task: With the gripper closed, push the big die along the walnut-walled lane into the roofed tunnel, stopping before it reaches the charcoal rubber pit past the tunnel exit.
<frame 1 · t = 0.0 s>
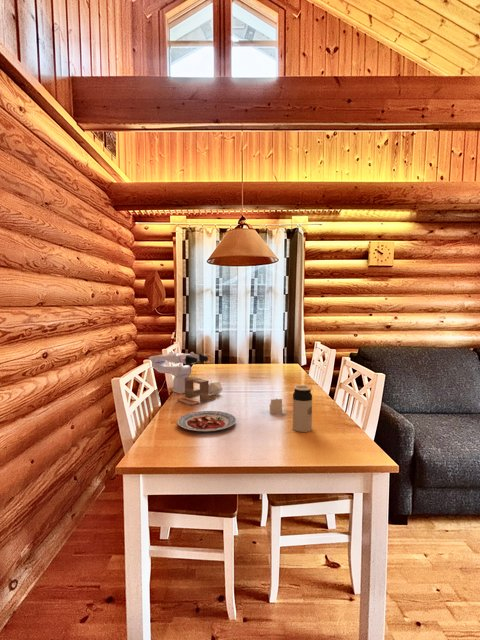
hand: (202, 359, 198), 22 cm above the table, tool horizontal, fingers open, 7 cm apart
tunnel lane: (200, 398, 198), on the table
trap pit: (188, 402, 190), on the table
travel mug: (302, 429, 150), on the table
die: (214, 395, 205), on the table
architectural model: (275, 414, 172), on the table
ceramic plate: (207, 425, 156), on the table
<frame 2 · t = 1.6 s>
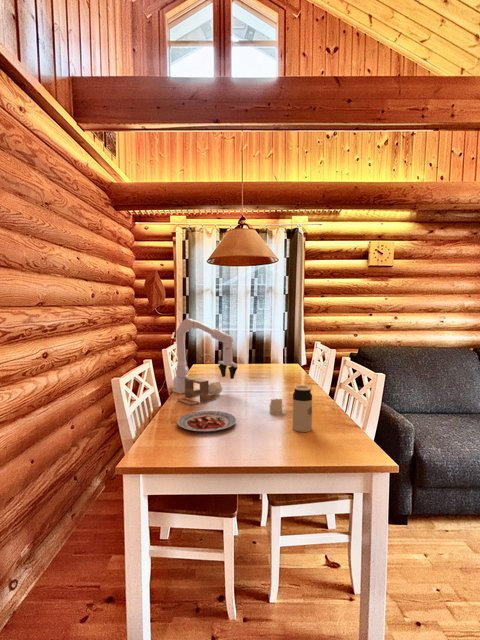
hand: (227, 377, 212), 8 cm above the table, tool pointing down, fingers open, 7 cm apart
nothing on the table moved.
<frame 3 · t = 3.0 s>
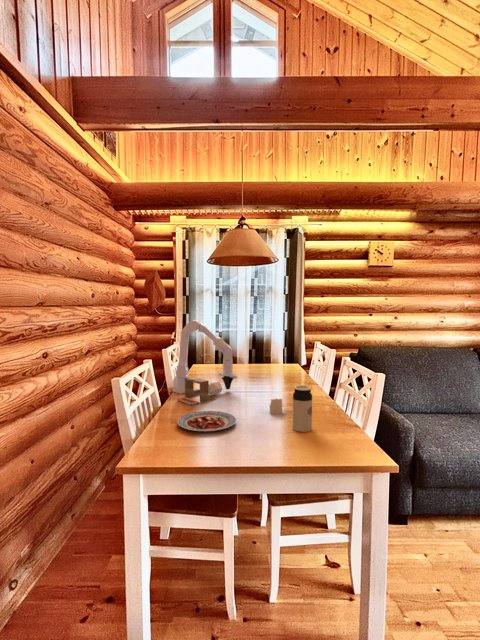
hand: (227, 388, 212), 2 cm above the table, tool pointing down, fingers closed
nothing on the table moved.
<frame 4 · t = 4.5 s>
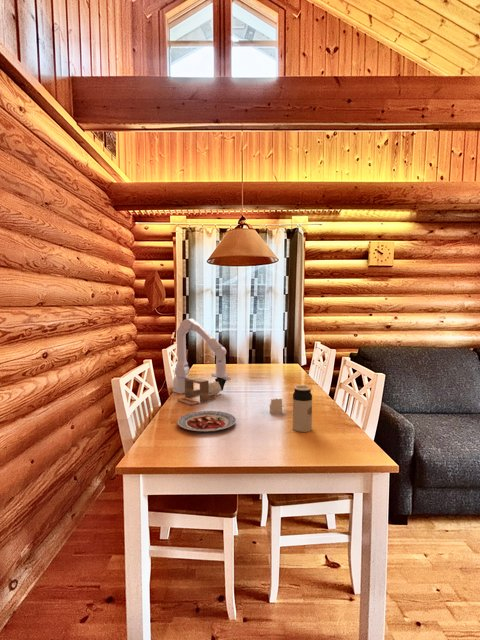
hand: (220, 390, 208), 2 cm above the table, tool pointing down, fingers closed
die: (213, 395, 204), on the table, touching gripper
everything else where it was.
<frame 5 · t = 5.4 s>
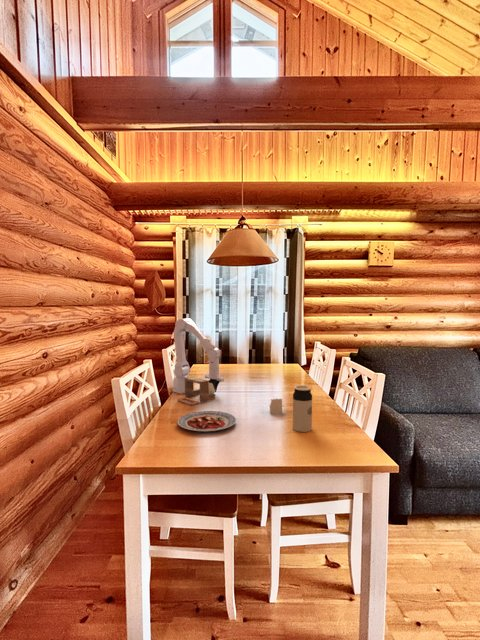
hand: (214, 392, 205), 2 cm above the table, tool pointing down, fingers closed
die: (207, 397, 201), on the table, touching gripper
everything else where it was.
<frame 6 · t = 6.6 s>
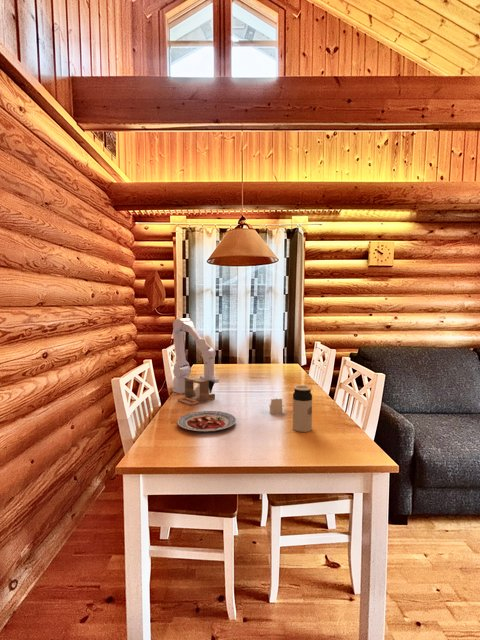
hand: (209, 393, 202), 2 cm above the table, tool pointing down, fingers closed
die: (202, 398, 198), on the table, touching gripper
everything else where it was.
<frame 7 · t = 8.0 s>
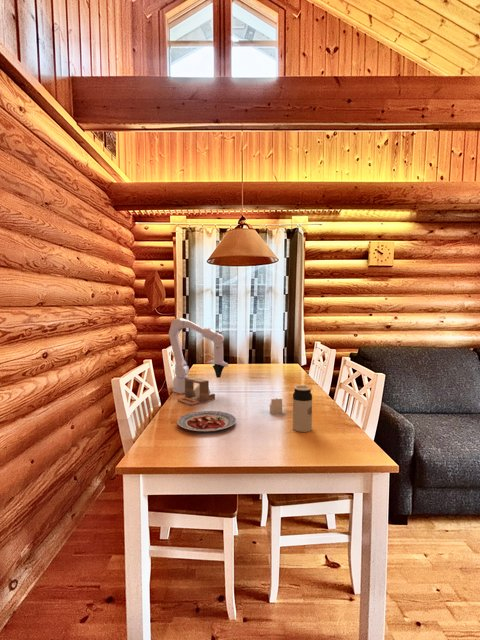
hand: (218, 377, 209), 9 cm above the table, tool pointing down, fingers closed
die: (202, 398, 198), on the table
everything else where it was.
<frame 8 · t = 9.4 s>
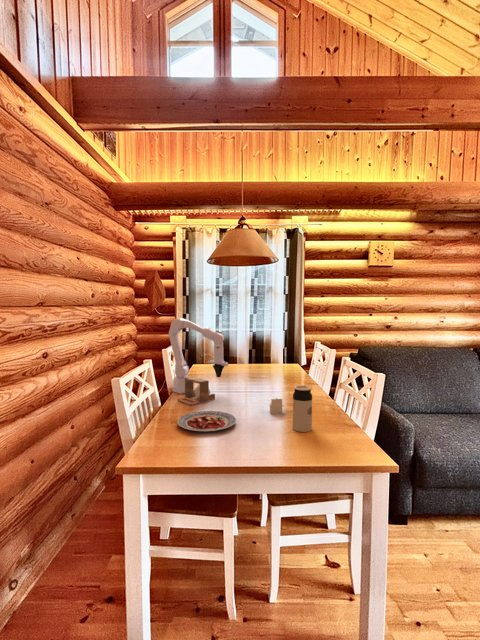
hand: (218, 376, 209), 9 cm above the table, tool pointing down, fingers closed
nothing on the table moved.
at the end: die inside the target area (1.3 cm from its centre), on the table; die touching table; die tilted 0° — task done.
